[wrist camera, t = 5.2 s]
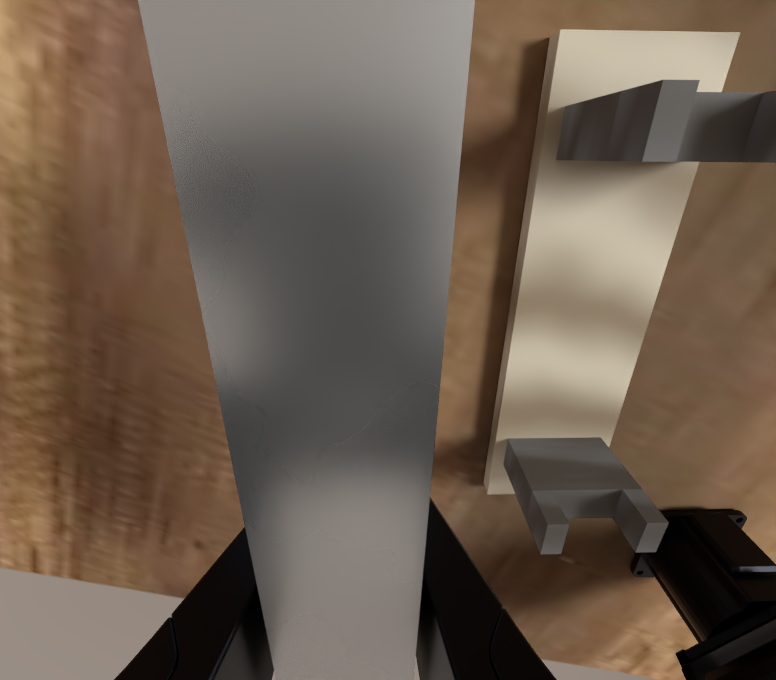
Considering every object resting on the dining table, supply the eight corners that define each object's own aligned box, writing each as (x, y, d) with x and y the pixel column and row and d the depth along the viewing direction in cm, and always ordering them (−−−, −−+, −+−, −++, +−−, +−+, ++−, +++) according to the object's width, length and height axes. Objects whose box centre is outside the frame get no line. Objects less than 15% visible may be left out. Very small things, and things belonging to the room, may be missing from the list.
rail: (393, 744, 13) (397, 858, 11) (322, 747, 13) (313, 862, 11) (448, -265, 4) (547, -805, 2) (198, -280, 4) (-39, -881, 2)
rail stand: (587, 481, 26) (654, 585, 20) (483, 482, 26) (517, 587, 20) (719, 39, 16) (946, -39, 10) (549, 36, 16) (666, -45, 9)
